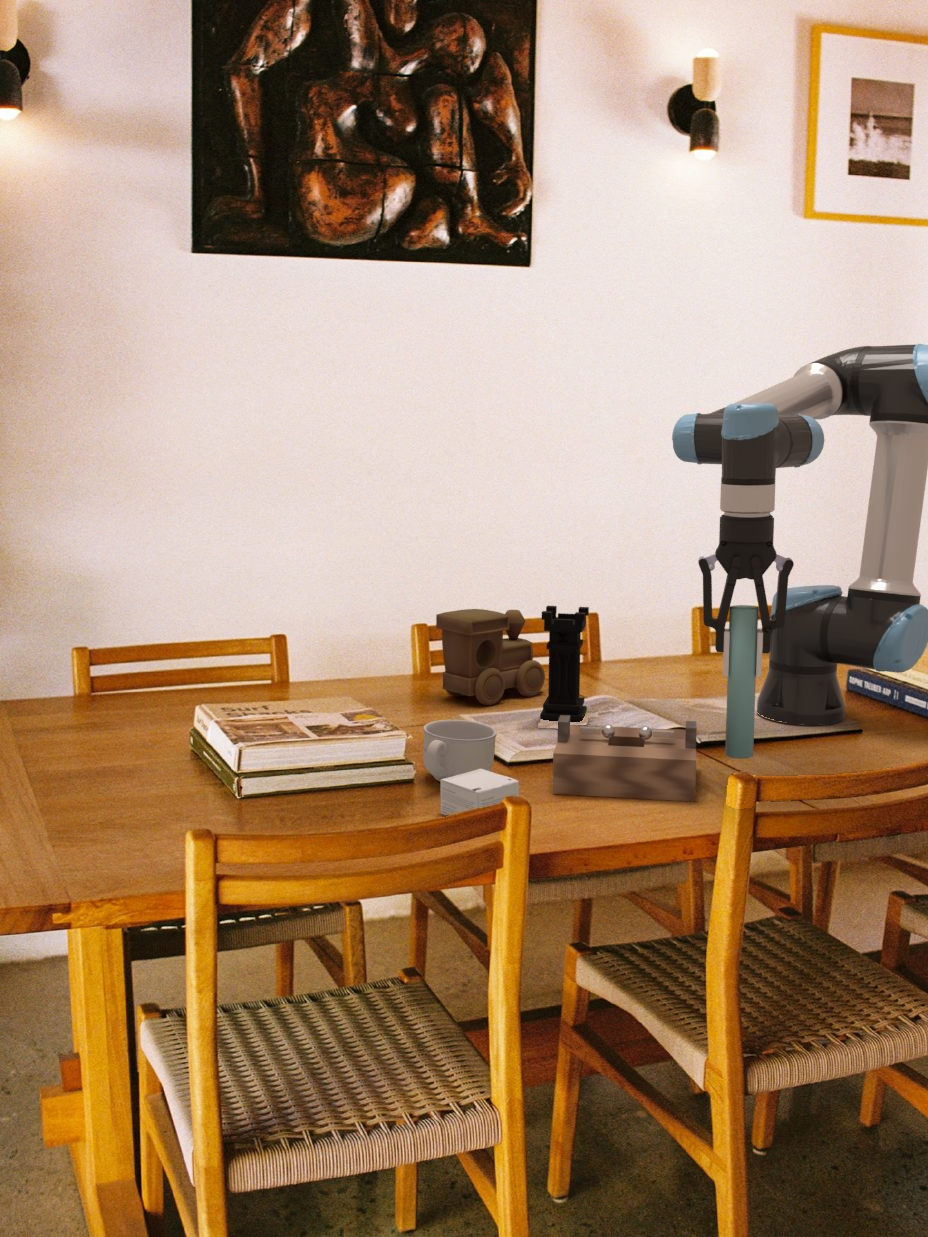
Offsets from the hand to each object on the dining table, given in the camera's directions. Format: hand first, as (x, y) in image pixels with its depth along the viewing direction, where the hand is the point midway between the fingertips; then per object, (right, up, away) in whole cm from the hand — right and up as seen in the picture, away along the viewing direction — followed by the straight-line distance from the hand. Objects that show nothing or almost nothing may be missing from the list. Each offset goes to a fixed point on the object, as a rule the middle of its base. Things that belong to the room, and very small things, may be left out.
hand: (741, 674), depth 182 cm
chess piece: (-23, -10, +35) cm, 43 cm away
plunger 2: (-12, -10, +1) cm, 16 cm away
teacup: (-42, -16, +3) cm, 45 cm away
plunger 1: (-21, -9, +3) cm, 23 cm away
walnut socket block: (-16, -16, +3) cm, 23 cm away
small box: (-38, -19, -11) cm, 44 cm away
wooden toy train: (-35, -7, +54) cm, 65 cm away
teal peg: (0, -12, +2) cm, 12 cm away
